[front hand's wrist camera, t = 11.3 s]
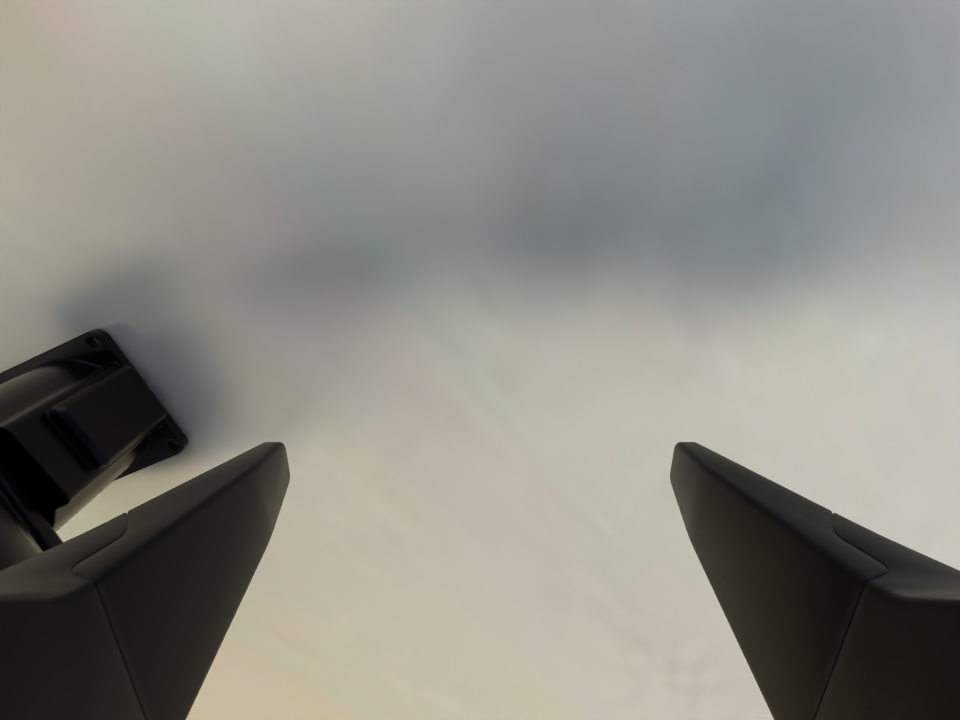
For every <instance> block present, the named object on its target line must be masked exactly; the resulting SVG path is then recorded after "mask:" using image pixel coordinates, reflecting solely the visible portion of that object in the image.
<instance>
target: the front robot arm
mask: <svg viewBox="0 0 960 720" xmlns="http://www.w3.org/2000/svg"><path fill="white" fill-rule="evenodd" d="M94 338H96V339H97V340H99V342H100V345H99V344H97V343H96V342H95V340H94ZM172 440H173V441H175V442H176V443H177V444H178V445H175V444H174V443H173V442H172ZM187 445H188V440H187V438H186V436H185V435H184V434H183V432H182V431H181V430H180V428H179V427H178V426H177V424H176V423H175V422H174V420H173V419H172V418H171V416H170V415H169V414H168V412H167V411H166V410H165V408H164V407H163V406H162V404H161V403H160V402H159V400H158V399H157V398H156V396H155V395H154V394H153V392H152V391H151V390H150V388H149V387H148V386H147V384H146V383H145V382H144V380H143V379H142V378H141V376H140V375H139V374H138V372H137V371H136V370H135V368H134V367H133V366H132V364H131V363H130V362H129V360H128V359H127V358H126V356H125V355H124V354H123V352H122V351H121V350H120V348H119V347H118V346H117V344H116V343H115V342H114V340H113V339H112V338H111V336H110V335H109V334H108V333H107V332H105V331H103V330H101V329H94V330H91V331H89V332H87V333H85V334H83V335H80V336H78V337H76V338H74V339H72V340H70V341H68V342H66V343H64V344H62V345H59V346H57V347H55V348H53V349H51V350H49V351H47V352H45V353H43V354H40V355H38V356H36V357H34V358H32V359H30V360H28V361H26V362H24V363H22V364H19V365H17V366H15V367H13V368H11V369H9V370H7V371H5V372H3V373H1V374H0V720H186V718H187V716H188V714H189V712H190V709H191V707H192V705H193V703H194V701H195V699H196V697H197V695H198V692H199V690H200V688H201V686H202V684H203V682H204V680H205V677H206V675H207V673H208V671H209V669H210V667H211V665H212V663H213V660H214V658H215V656H216V654H217V652H218V650H219V648H220V645H221V643H222V641H223V639H224V637H225V635H226V633H227V631H228V628H229V626H230V624H231V622H232V620H233V618H234V616H235V614H236V611H237V609H238V607H239V605H240V603H241V601H242V599H243V596H244V594H245V592H246V590H247V588H248V586H249V584H250V582H251V579H252V577H253V575H254V573H255V571H256V569H257V567H258V564H259V562H260V560H261V558H262V556H263V554H264V552H265V550H266V547H267V545H268V543H269V540H270V538H271V535H272V532H273V530H274V527H275V524H276V521H277V517H278V514H279V511H280V508H281V505H282V502H283V499H284V496H285V493H286V490H287V487H288V484H289V480H290V472H289V466H288V460H287V454H286V448H285V446H284V444H283V443H282V442H265V443H262V444H260V445H258V446H256V447H254V448H252V449H250V450H248V451H246V452H244V453H242V454H240V455H239V456H237V457H235V458H233V459H231V460H229V461H227V462H225V463H223V464H221V465H219V466H217V467H215V468H213V469H211V470H209V471H207V472H205V473H203V474H201V475H199V476H197V477H195V478H193V479H191V480H189V481H187V482H185V483H183V484H181V485H179V486H177V487H175V488H173V489H171V490H169V491H167V492H165V493H163V494H161V495H159V496H157V497H155V498H153V499H151V500H150V501H148V502H146V503H144V504H142V505H140V506H138V507H136V508H134V509H132V510H130V511H128V514H127V513H124V514H122V515H120V516H118V517H116V518H114V519H112V520H110V521H108V522H106V523H104V524H102V525H100V526H98V527H96V528H93V529H91V530H89V531H87V532H85V533H83V534H81V535H79V536H77V537H75V538H72V539H70V540H68V541H66V542H64V543H63V542H62V540H61V539H60V537H59V536H58V535H57V533H56V531H57V530H58V529H60V528H61V527H62V526H63V525H64V524H65V523H66V522H67V521H69V520H70V519H71V518H72V517H73V516H74V515H75V514H76V513H78V512H79V511H80V510H81V509H82V508H83V507H84V506H85V505H87V504H88V503H89V502H90V501H91V500H92V499H93V498H94V497H96V496H97V495H98V494H99V493H100V492H101V491H102V490H104V489H105V488H106V487H107V486H108V485H109V484H110V483H111V482H113V481H114V480H117V479H119V478H121V477H124V476H126V475H129V474H131V473H133V472H136V471H138V470H141V469H143V468H145V467H148V466H150V465H153V464H155V463H157V462H160V461H162V460H165V459H167V458H169V457H172V456H174V455H177V454H179V453H180V452H182V451H183V450H184V449H185V448H186V447H187ZM670 480H671V484H672V487H673V490H674V493H675V496H676V499H677V502H678V505H679V508H680V511H681V514H682V517H683V521H684V524H685V527H686V530H687V532H688V535H689V538H690V540H691V543H692V545H693V547H694V550H695V552H696V554H697V556H698V558H699V560H700V562H701V564H702V567H703V569H704V571H705V573H706V575H707V577H708V579H709V582H710V584H711V586H712V588H713V590H714V592H715V594H716V596H717V599H718V601H719V603H720V605H721V607H722V609H723V611H724V614H725V616H726V618H727V620H728V622H729V624H730V626H731V628H732V631H733V633H734V635H735V637H736V639H737V641H738V643H739V646H740V648H741V650H742V652H743V654H744V656H745V658H746V660H747V663H748V665H749V667H750V669H751V671H752V673H753V675H754V678H755V680H756V682H757V684H758V686H759V688H760V690H761V692H762V695H763V697H764V699H765V701H766V703H767V705H768V707H769V710H770V712H771V714H772V716H773V718H774V720H960V571H959V570H957V569H955V568H952V567H950V566H948V565H946V564H943V563H941V562H939V561H937V560H934V559H932V558H930V557H928V556H925V555H923V554H921V553H919V552H916V551H914V550H912V549H910V548H907V547H905V546H903V545H901V544H899V543H896V542H894V541H892V540H890V539H888V538H885V537H883V536H881V535H879V534H877V533H875V532H873V531H871V530H869V529H867V528H864V527H862V526H860V525H858V524H856V523H854V522H852V521H850V520H848V519H846V518H844V517H842V516H840V515H838V514H836V513H833V514H832V511H830V510H828V509H826V508H824V507H822V506H820V505H818V504H816V503H814V502H812V501H811V500H809V499H807V498H805V497H803V496H801V495H799V494H797V493H795V492H793V491H791V490H789V489H787V488H785V487H783V486H781V485H779V484H777V483H775V482H773V481H771V480H769V479H767V478H765V477H763V476H761V475H759V474H757V473H755V472H753V471H751V470H749V469H747V468H745V467H743V466H741V465H739V464H737V463H735V462H733V461H731V460H729V459H727V458H725V457H723V456H721V455H720V454H718V453H716V452H714V451H712V450H710V449H708V448H706V447H704V446H702V445H700V444H698V443H695V442H678V443H677V444H676V446H675V448H674V454H673V460H672V466H671V472H670Z"/></svg>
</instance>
